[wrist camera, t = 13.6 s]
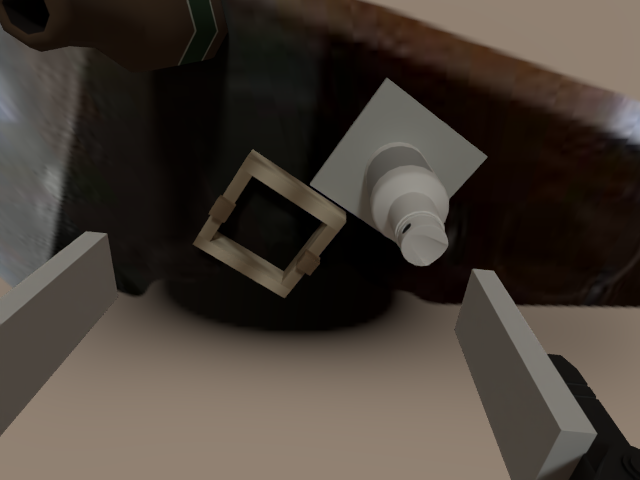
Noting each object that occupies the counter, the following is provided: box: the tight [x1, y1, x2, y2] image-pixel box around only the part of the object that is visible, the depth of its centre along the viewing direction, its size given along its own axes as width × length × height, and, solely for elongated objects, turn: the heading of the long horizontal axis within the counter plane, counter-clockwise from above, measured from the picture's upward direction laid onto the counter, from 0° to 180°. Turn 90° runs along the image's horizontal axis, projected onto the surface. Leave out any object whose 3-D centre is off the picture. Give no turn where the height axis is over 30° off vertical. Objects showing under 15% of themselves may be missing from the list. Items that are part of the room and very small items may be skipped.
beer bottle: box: [0, 0, 228, 72], centre depth 30 cm, size 8×8×24 cm
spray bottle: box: [365, 142, 449, 266], centre depth 38 cm, size 7×7×18 cm
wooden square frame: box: [193, 150, 346, 298], centre depth 48 cm, size 14×13×4 cm
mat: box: [310, 78, 487, 242], centre depth 46 cm, size 14×14×1 cm
